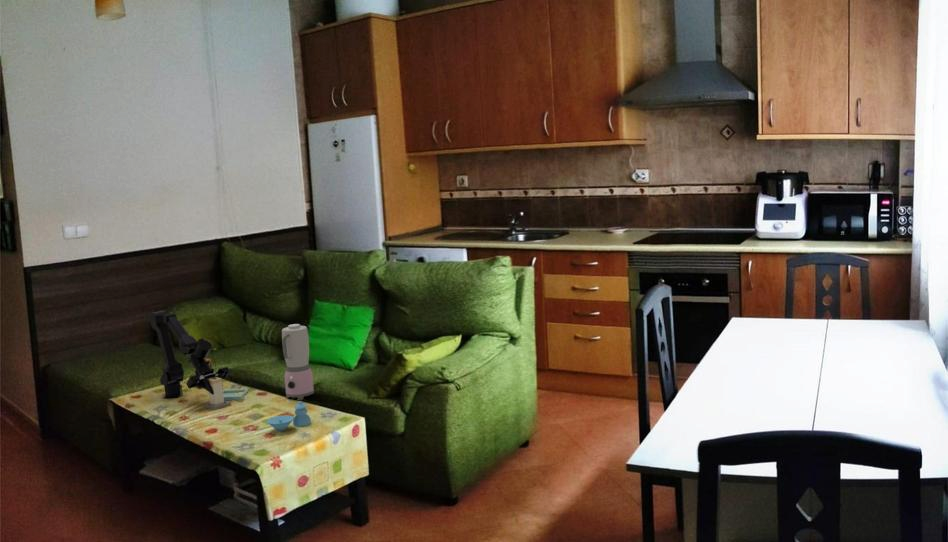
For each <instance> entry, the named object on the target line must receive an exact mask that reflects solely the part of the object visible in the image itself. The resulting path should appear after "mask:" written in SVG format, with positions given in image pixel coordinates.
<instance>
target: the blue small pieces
mask: <svg viewBox="0 0 948 542" xmlns="http://www.w3.org/2000/svg"><path fill="white" fill-rule="evenodd" d="M294 409H295V410H294V414H295V416H293V415H288V414H287V415H286V414H285V415H283V414H282V415H276V416H273V417H270V418H268V419H266V423H267V424H269V426H271V427H272V428H274V429H275V430H277V432H284V431H286V429H287V428H288V427H289V425H291V423H292V425H293V426H294V427H297V428H298V427H300V428H302V427H307V426H309V425H311V423H312V422H311V417H310V415H308V409H307V404H305V403H303V401H302V400H299V401H298V403H297V404H296V405H294Z"/></svg>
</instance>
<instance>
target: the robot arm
mask: <svg viewBox="0 0 948 542" xmlns="http://www.w3.org/2000/svg"><path fill="white" fill-rule="evenodd" d="M148 321H149V323H150V325H151V328H152V329H153V330H155V332H156V334H157V336H158V341H159V345H160V348H161V354H162V357H163V361H164V364H163V367H162V375H161V377H160V379H159V382H160V385H162V386H164V387H163V389H164V396H163V398H164V399H173V398H179V397H180V396H182V395H183V387H182V384H181V382H184V375H185V370H184V368H183V364H182V362H179V361H178V360H177V359H176V354H175V351H174V347H173V346H174V345H173V342H172V339H171V335H170V332H169V329H170V331H171V333H172V334H173V336H174V337H175V338H176V341H178V348H179V350H180V353H181V354H182V355H184V356H189V355H190V356H189V357H188V360H187V363H188V364H191V365H192V366H193V368H194V369H195V370H194V374H193V375H190V376H189V378H188V379H187V381H186V386H187V388H188V389H193V388H197V389H199V390H200V389H204V390H206V391H207V392H208V393H209V392H210V393H211V394H212V395H213V394H214V392H213V389H212V387H211V385H210V383H209V381H208V379H211V378H215V377H217V378H222V380H225V379H226V378H227V377H228V375H229V373H230V372H231V370H230V368H229V367H228V366H224V367H219V368H218V370H216V371H215V369H214V368H212V369H211V367H210V366H209V363H210V362H209V361H206V359H207V356H208V355H209V353H210V352H211V351H212V350H211V349H212V347H213V345H212V343H211V342H210V341H208V340H206V339H204V338H199V339H198V340H197V339H196V338H195V337H194V336H192V335H189V333H188V332H187V331H186V329H185V328H184V326H183V325H182V323H181V322H180V320H179V319H178V317H177V314H176V313H175V312H170V311H169V312H168V311H167V310H160V311H153V312H151V313H150V315H149V316H148ZM210 350H211V351H210ZM205 358H206V359H205ZM222 386H223V387H224V385H223V382H222ZM181 394H182V395H181Z"/></svg>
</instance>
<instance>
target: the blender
mask: <svg viewBox="0 0 948 542" xmlns="http://www.w3.org/2000/svg"><path fill="white" fill-rule="evenodd" d="M281 340H282V341H281V342H282V352H283V357H284V361H285V364H286V370H285V371H284V387H285V396H286V397H285V398H286V399H289V398H297V400H299V401H302V400H304V397H307V396H311V395H313V394H314V393H315V389H314V376H313V375H314V374H313V371H312V369H311V367H310V365H309V363H310V362H309V359H310V340H309V332H308V327H307V326H305V325H301V324H300V323H293V324H289V325H287V327H284V328H282V329H281Z"/></svg>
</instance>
